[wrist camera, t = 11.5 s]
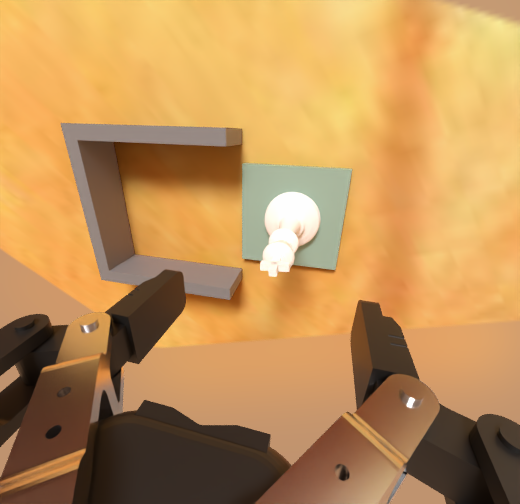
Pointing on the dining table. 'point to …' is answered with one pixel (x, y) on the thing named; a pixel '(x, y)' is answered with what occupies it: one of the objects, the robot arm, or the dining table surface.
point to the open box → (114, 209)
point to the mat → (302, 181)
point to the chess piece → (288, 230)
